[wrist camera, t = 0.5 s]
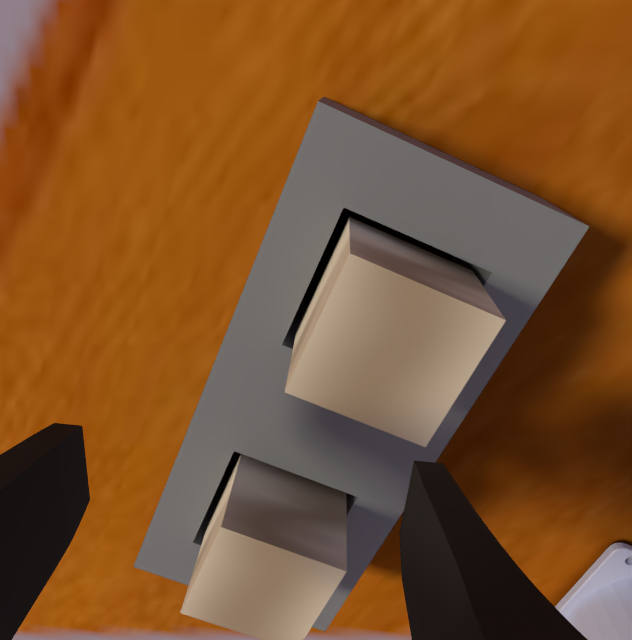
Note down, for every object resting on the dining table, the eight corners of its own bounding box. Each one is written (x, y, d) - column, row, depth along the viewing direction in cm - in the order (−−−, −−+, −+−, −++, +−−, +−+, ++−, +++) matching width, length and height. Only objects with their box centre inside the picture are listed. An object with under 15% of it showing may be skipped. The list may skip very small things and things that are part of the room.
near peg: (472, 271, 16) (505, 320, 13) (410, 378, 17) (425, 447, 14) (349, 216, 15) (350, 253, 12) (296, 332, 17) (284, 392, 14)
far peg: (346, 488, 19) (346, 571, 16) (303, 561, 21) (296, 650, 18) (242, 449, 19) (220, 526, 16) (206, 527, 21) (180, 612, 17)
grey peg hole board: (540, 197, 18) (589, 226, 15) (327, 551, 25) (324, 631, 22) (323, 96, 17) (318, 101, 14) (165, 493, 24) (133, 566, 21)
